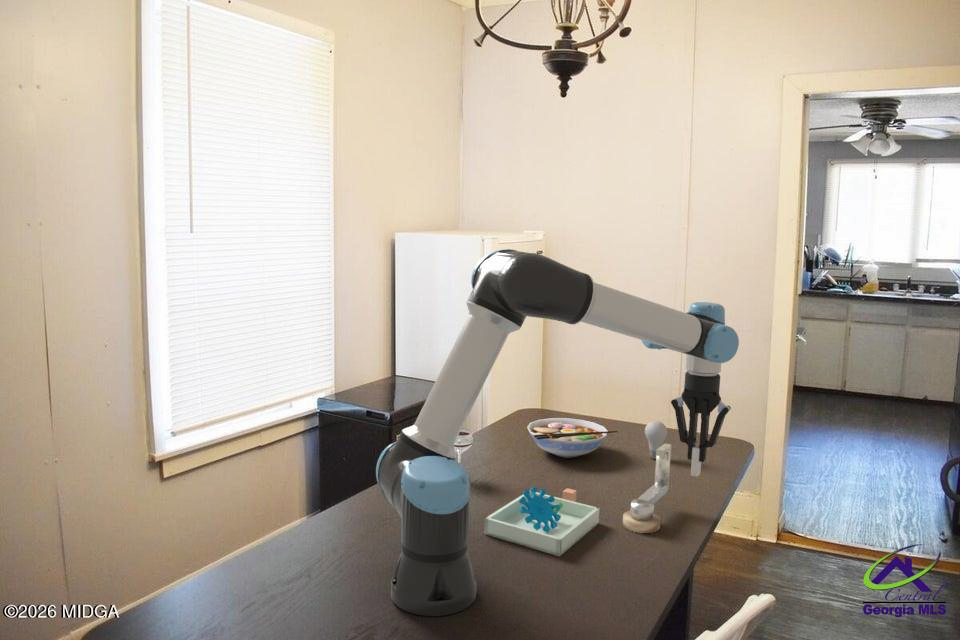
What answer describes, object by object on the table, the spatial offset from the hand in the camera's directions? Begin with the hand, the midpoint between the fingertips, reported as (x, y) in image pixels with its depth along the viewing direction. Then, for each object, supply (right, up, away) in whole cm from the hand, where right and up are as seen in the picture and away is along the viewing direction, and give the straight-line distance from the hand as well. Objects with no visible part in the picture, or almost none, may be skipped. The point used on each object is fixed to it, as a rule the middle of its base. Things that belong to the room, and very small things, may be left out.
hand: (695, 474), depth 167 cm
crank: (-10, -7, 0) cm, 12 cm away
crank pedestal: (-13, -10, -5) cm, 18 cm away
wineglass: (-54, -6, +22) cm, 59 cm away
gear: (-36, -10, -8) cm, 38 cm away
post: (-28, -9, +4) cm, 30 cm away
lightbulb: (0, -4, +40) cm, 41 cm away
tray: (-35, -10, -8) cm, 38 cm away
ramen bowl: (-24, -3, +43) cm, 49 cm away
